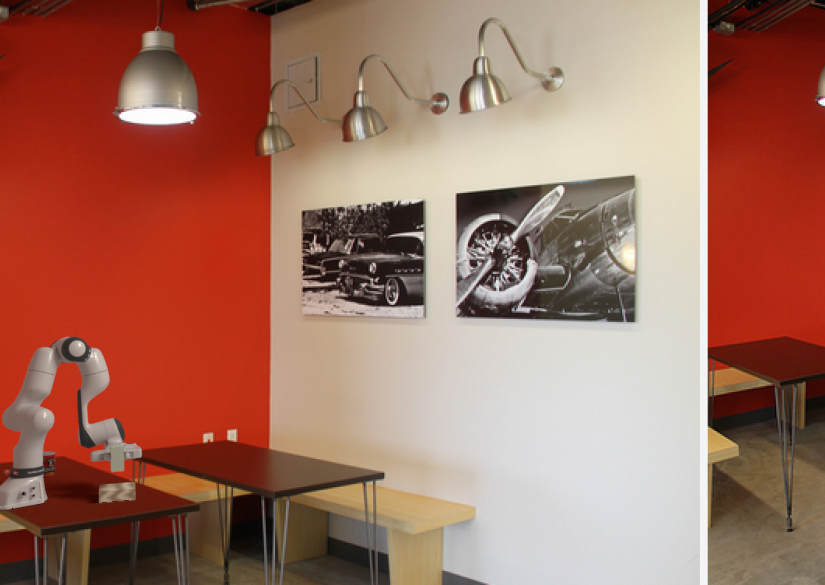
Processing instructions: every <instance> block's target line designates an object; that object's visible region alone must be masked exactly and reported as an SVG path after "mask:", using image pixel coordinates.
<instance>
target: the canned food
mask: <svg viewBox="0 0 825 585" xmlns="http://www.w3.org/2000/svg"><path fill="white" fill-rule="evenodd" d="M43 465H44V477H47V478H51V477H52V476H53V477H55V476H54V475H56V452H55V451H43ZM53 477H52V478H53Z"/></svg>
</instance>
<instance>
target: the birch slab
mask: <svg viewBox="0 0 825 585" xmlns="http://www.w3.org/2000/svg"><path fill="white" fill-rule="evenodd" d="M98 486H99V488H98V504H103V503H102V502H107V503H113V502H112V501H118V502H125V501H124V500H129V501H136V498H137V497H136V495H137V493H136V492H137V491H136V482H135V481H131V482H130V481H128V482H118V483H107V484H106V483H104V484H99V485H98Z"/></svg>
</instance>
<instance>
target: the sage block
mask: <svg viewBox="0 0 825 585" xmlns="http://www.w3.org/2000/svg"><path fill="white" fill-rule="evenodd" d="M110 455H111V460H110V461H111V462H110V473H115V472H125V461H124V446H123V445H116V446H110Z"/></svg>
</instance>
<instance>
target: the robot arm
mask: <svg viewBox="0 0 825 585" xmlns="http://www.w3.org/2000/svg"><path fill="white" fill-rule="evenodd" d="M72 363H75V364H76V365H77V367H78V369H79V371H80V375H81V385H80V386H81V387H80V388H79V389H78V390H77V392H76V402H77V404H76V405H77V423H78V431H77V439H78V443H79V445H80V446H81V447H83V448H85V449H92V448H95V447H97V446H99V445H103V444H104V445H103V449H100V450H99V449H97V450H92V451H91V453H89V457H90V462H94V463H95V462H103V461H104V462H105V461H107V462H109V463H111V461H110V460H111V455H110V446H116V445H123V446H124V462H125V461H127V460H128V461H129V460H135V459H141V458H142V455H143V453H142V451H143V450H142V448H141V447H140V445H137V443H135V442H134V443H133V442H124V441H125V438H126V434H125V433H126V432H125V429H124V427H123V424H122V421H120V420H119V419H118V418H116V417H111V418H107V419H104V420H101V421H98V422H95V423H89V416H88V405H89V403H90V401H91V400H92V399H94V398H96V397H97V396H98V395H99V394H101V393H102V392H104V391H105V390H106V389H107V387H108V386H109V384H110V381H111V380H110V374H109V369H108V365H107V363H106V360H105V357H104V355H103V353H102V351H101V350H100V349H99V348H96V347H91V346H90V345H88V343H87V341H85V340H84V339H83V338H82V337H78V336H65V337H62V338H59V339H57V340H55V341H54V342H53V343H52V344H51V345H50V346H49V347H47V346H42V347H39V348H37V349H36V350H35V352H34V353H33V356H32V357H31V359H30V362H29V364H28V366H27V369H26V370H27V371H26V373H25V378H24V380H23V383H22V386H21V389H20V391H19V392H18V395H17V396H16V397H15V399H14V401H13V402H12V404H11V405H10V406H9V407H7V408H6V409H5V410H4V412H3V413H2V416H1V421H2V424H3V426H4V427H5V428H7V429H8V430H11V431H13V432H19V433H20V436H19V438H18V439H19V440H18V442H17V444H16V445H15V446H14V447H13V451H12V455H13V456H12V457H13V458H12V467H11V470H10V469H4V470H3V474H4V475H7V476H8V478H7V479H6V480H4V481H3V483H1V485H0V511H1V510H2V511H3V510H4V511H5V510H12V508H13V509H17V508H18V509H19V508H22V507H29V506H35V505H38V504H43V503H45V502H46V501H47V500H48V495H47V492H46V487H45V481H44V480H45V478H43V477H44V465H43V452H44V444H45V440H46V437H47V435H48V433H49V431H50V430H51V429H52V428H53V426H54V423H55V415H54V413H53V412H52V411H51V410H50V409H48V408H45V407H44V406H41V405H42V403H43V401H44V400H45V399H46V398H48V397H49V395H51V392H52V389H53V384H54V381H55V378H56V374H57V370H58V368H59V366H60V365H61V364H72Z"/></svg>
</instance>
